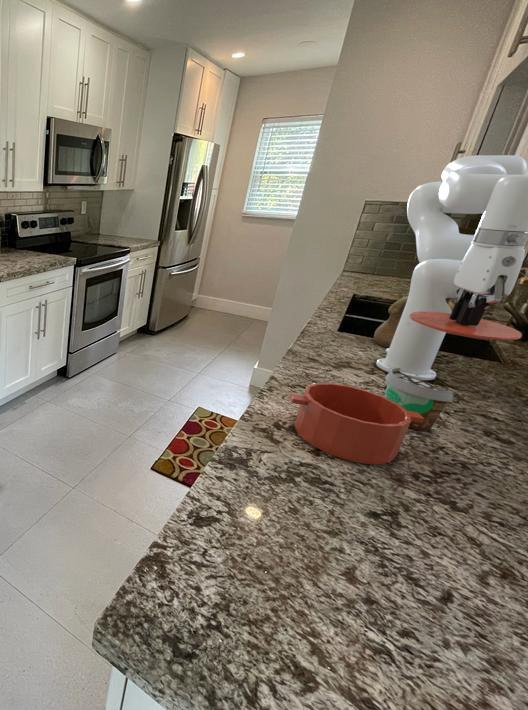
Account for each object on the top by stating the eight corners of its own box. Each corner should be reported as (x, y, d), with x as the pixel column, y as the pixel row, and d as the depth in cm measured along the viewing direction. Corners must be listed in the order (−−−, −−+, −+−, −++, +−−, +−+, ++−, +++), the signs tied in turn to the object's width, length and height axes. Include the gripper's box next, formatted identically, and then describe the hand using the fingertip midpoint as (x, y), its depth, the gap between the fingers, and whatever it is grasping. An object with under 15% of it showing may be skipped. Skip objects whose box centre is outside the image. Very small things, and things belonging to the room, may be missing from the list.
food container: (359, 405, 97) (373, 367, 94) (383, 404, 98) (398, 366, 94) (410, 435, 86) (428, 393, 82) (436, 434, 86) (456, 392, 83)
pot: (271, 408, 95) (280, 376, 92) (385, 426, 89) (399, 392, 86) (293, 451, 80) (305, 413, 77) (431, 475, 74) (450, 436, 71)
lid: (393, 312, 102) (401, 288, 100) (482, 320, 97) (493, 295, 95) (435, 336, 87) (447, 308, 84) (544, 347, 82) (560, 318, 79)
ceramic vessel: (419, 341, 138) (456, 252, 128) (460, 367, 119) (507, 265, 108) (364, 335, 143) (394, 248, 132) (394, 359, 124) (433, 260, 113)
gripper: (557, 245, 77) (512, 336, 83) (494, 235, 91) (460, 313, 98) (506, 243, 79) (466, 332, 85) (452, 233, 93) (421, 310, 100)
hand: (463, 321), depth 91 cm, fingers closed on lid, 2 cm apart
